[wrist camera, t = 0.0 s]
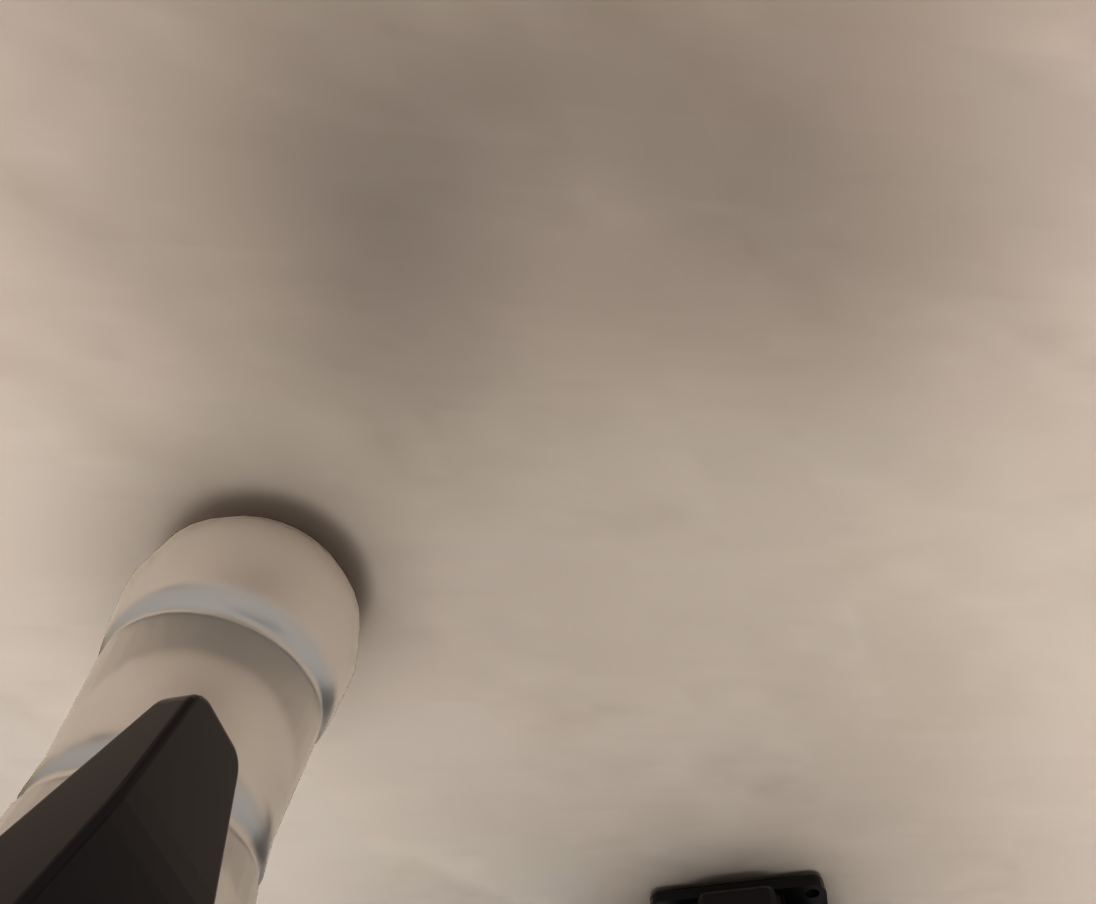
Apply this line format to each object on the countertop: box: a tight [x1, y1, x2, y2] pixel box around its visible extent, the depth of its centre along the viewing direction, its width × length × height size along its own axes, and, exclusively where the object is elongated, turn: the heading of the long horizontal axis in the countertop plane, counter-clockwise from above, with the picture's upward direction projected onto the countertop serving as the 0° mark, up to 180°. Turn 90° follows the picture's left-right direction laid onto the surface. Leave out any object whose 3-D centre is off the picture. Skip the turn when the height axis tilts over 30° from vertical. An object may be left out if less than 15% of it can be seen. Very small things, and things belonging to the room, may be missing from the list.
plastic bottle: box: [0, 516, 360, 904], centre depth 18 cm, size 6×7×20 cm
